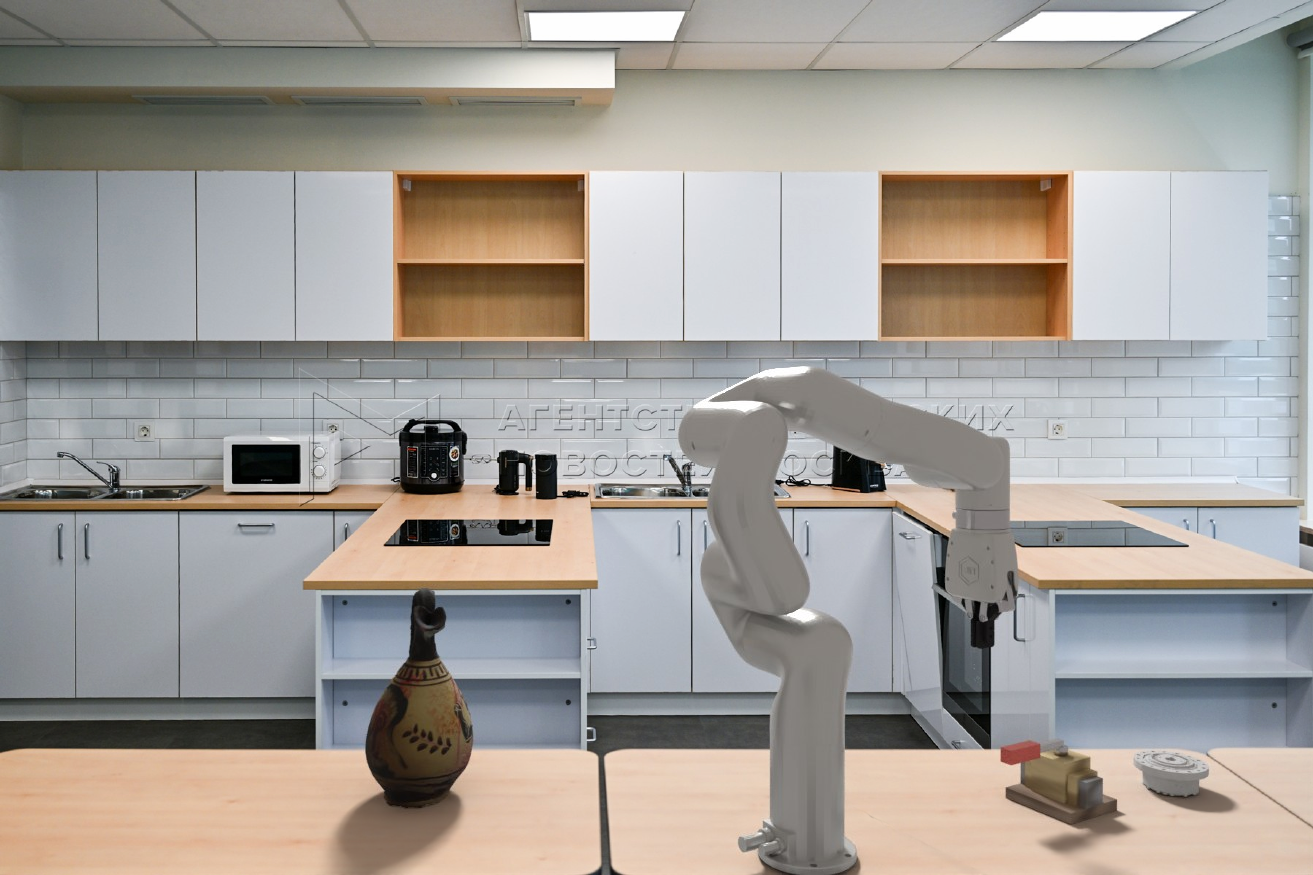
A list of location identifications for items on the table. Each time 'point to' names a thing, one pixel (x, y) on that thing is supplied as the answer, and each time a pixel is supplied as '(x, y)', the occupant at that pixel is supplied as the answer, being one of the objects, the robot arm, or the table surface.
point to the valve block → (1062, 787)
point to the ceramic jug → (420, 720)
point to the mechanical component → (1171, 772)
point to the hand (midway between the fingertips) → (982, 646)
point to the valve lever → (1031, 750)
